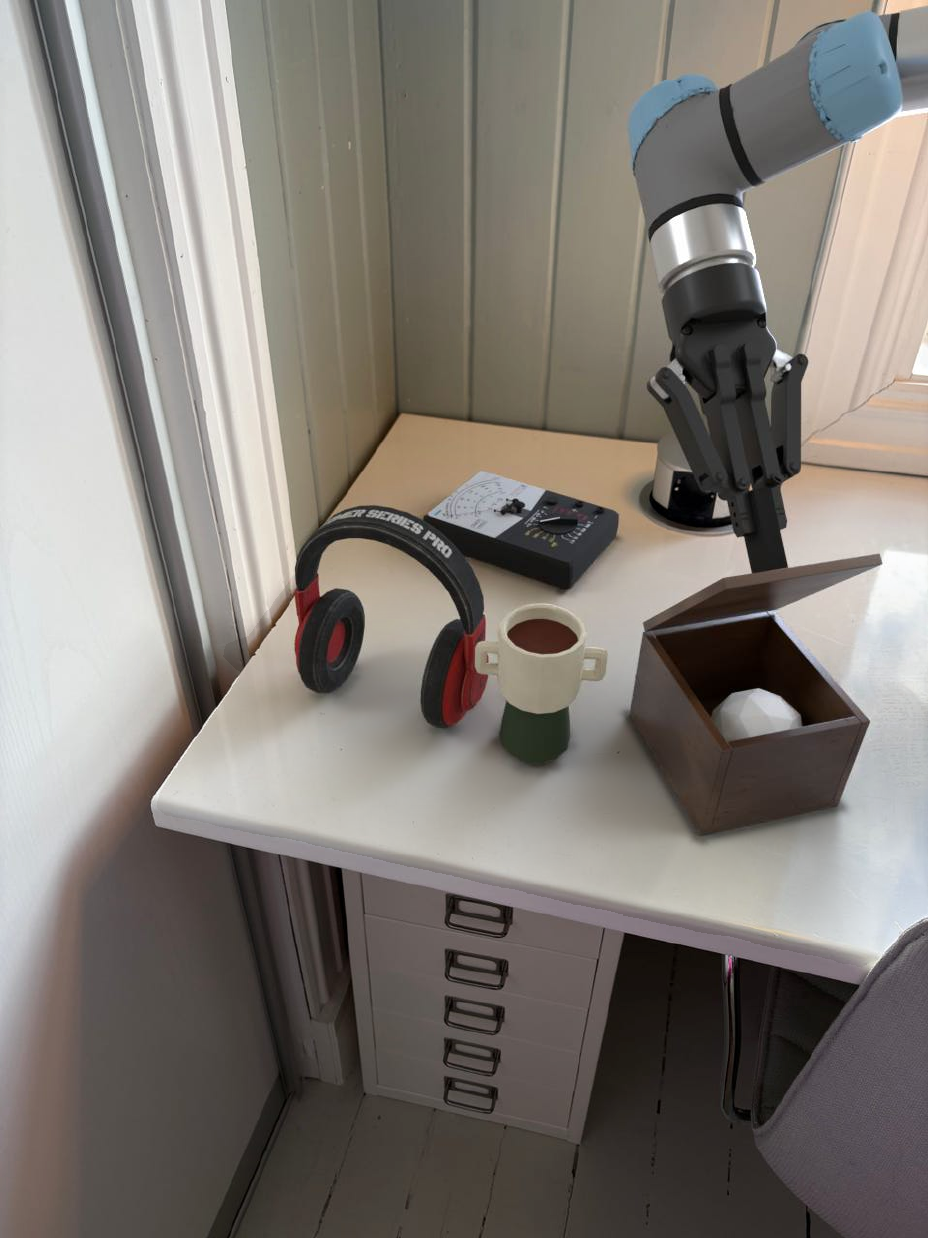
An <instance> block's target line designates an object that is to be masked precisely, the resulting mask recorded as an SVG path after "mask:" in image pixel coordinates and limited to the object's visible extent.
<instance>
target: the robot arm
mask: <svg viewBox="0 0 928 1238" xmlns="http://www.w3.org/2000/svg"><path fill="white" fill-rule="evenodd" d="M922 113H928V5H923V6H919V7H913V8H908V9H903V10H900V11H899V12H894V13H887V14H886V13H885V14H880V15H878V14H877V13H876V12H873V11H870V10H867V11H862V12H860V13H857V14H855V15H853V16H851V17H849V18H843V19H842V18H841V19H836V20H831V21H828V22H824V23H820V24H818V25H816V26H815V27H814V28H812V29H811V30H809V31H807V32H806V33H805V34H804V35H803V36H802V37H801V38H800V39H799V40H798V41H797V42H796V44H795V45H794V46H793V47H792V48H790V49H789V50H788V51H787V52H784V53H783V54H781V55H780V56H778V57H776V58H774V59H773V60H771V61H769V62H767V63H766V64H764V65H763V66H761V67H759V68H757V69H755V70H754V71H752V72H750V73H749V74H747V75H745V76H744V77H742V78H740V79H739V80H737V81H735V82H734V83H730V84H728V85H726V86H724V87H721V88H719V89H718V87H717V84H716V83H715V82H714V81H713V80H712V79H711V78H709V77H707V76H705V75H702V74H698V73H697V74H695V73H687V74H682V75H680V76H679V77H678V78H676V79H673V80H670V79H664V80H663V81H660V82H658V83H656V84H655V85H653V86H652V87H650V88H649V89H648V90H646V91H645V92H644V93H642V95H641V96H640V97H639V98H638V100H637V101H636V102H635V103H634V105H633V106H632V108H631V111H630V113H629V116H628V121H627V132H628V141H629V146H630V148H629V149H630V154H631V168H632V169H631V170H632V175H633V176H634V178H635V182H636V187H637V192H638V195H639V200H640V204H641V209H642V212H643V217H644V221H645V227H646V230H647V236H648V241H649V247H650V251H651V256H652V261H653V266H654V272H655V276H656V281H657V286H658V289H659V291H660V293H661V294H663V296H662V298H661V307H662V311H663V316H664V320H665V325H666V330H667V334H668V338H669V340H670V341H671V350H670V353H669V364H668V365H666V366H663V367H661V368H660V369H659V370H658V371H657V372H656V373H654V375H653V376H652V377H651V378H650V379H649V380H648V381H647V382H646V389H647V392H648V393H649V394H650V395H651V396H652V397H653V398H654V399H655V401H656V402H658V403H659V405H660V406H661V407H662V408H663V410H664V413H665V415H666V417H667V419H668V421H669V423H670V426H671V428H672V431H673V432H674V435H675V437H676V439H677V442H678V443H679V446H680V448H681V451H682V452H683V455H684V457H685V459H686V461H687V463H688V466H689V468H690V471H691V473H692V474H693V477H694V480H695V481H696V484H697V486H698V488H699V490H700V491H701V492H702V493H705V494H709V493H715V494H717V497H718V498H719V499H720V500H721V501H723V502H724V501H725V502H726V504H727V508H728V513H729V518H730V522H731V527H732V532H733V533H734V535H735V536H736V538H744V544H745V548H746V553H747V557H748V563H749V566H750V567H749V568H750V572H751V573H757V572H764V571H770V570H777V569H783V568H789V565H788V560H787V555H786V550H785V546H784V541H783V537H782V530H784V529H786V528H787V525H788V518H787V514H786V509H785V505H784V500H783V496H782V489H781V488H782V485H783V484H784V483H785V482H786V481H788V480H789V479H792V478H793V477H795V476H796V475H798V474H800V472H801V470H802V382H803V379H804V377H805V373H806V371H807V368H808V366H809V358H808V357H807V355H806V354H804V353H798V354H795V355H794V356H792V355H790V354H788V353H786V352H784V351H782V350H780V349H778V348H777V341H776V339H775V337H774V336H773V334H771V332H770V331H769V329H768V326H767V304H766V299H765V296H764V291H763V285H762V281H761V278H760V273H759V271H758V270H757V269H756V268H755V265H756V263H757V262H756V261H757V257H756V252H755V248H754V244H753V243H754V242H753V238H752V235H751V231H750V228H749V227H750V226H749V223H748V218H747V215H746V214H747V213H746V210H745V205H744V201H743V193H745V192H747V191H750V190H752V189H753V188H756V187H759V186H761V185H763V184H765V183H766V182H767V181H769V180H771V179H773V178H775V177H778V176H780V175H781V174H784V173H786V172H788V171H790V170H793V169H796V168H797V167H800V166H801V165H804V164H805V163H808V162H810V161H812V160H814V159H816V158H818V157H821V156H823V155H825V154H827V153H829V152H831V151H833V150H835V149H838V148H840V147H842V146H844V145H846V144H848V143H851V144H853V143H856V142H858V141H860V140H861V139H862V138H863V137H864V136H865V135H866V134H868V133H870V132H872V131H873V130H875V129H878V128H879V127H881V126H883V125H884V124H886V123H888V122H890V121H892V120H893V119H894V118H896V117H903V116H909V115H916V114H922ZM769 369H770V375H769V381H770V382H771V383H772V384H773V385H772V388H771V393H770V418H769V412H768V407H767V405H766V397H767V387H766V382H765V378H766V376H767V373H768V371H769ZM686 383H687V385H689V386H690V387H691V388H692V389H693V390H694V391H695V393H696V394H697V396H698V400H699V407H700V410H701V413H702V415H704V416H705V419H706V423H707V427H706V424H705V422H704V420H703V417H702V415H701V414H700V411H699V409H698V407H697V404H696V401H695V400H694V397H693V395H692V394H691V392H690V390H689V389H688V387H687V386H686ZM750 488H751V489H750Z"/></svg>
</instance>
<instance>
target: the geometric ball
mask: <svg viewBox="0 0 928 1238" xmlns="http://www.w3.org/2000/svg"><path fill="white" fill-rule="evenodd" d="M711 719H712V720H713V722H714V723H715V725H716V726H717V728H718V729H719V731H720V732H721V734H722V735H723V737H724V738H725V740H726V741H727V742H729V741H734V740H739V739H744V738H749V737H754V736H759V735H764V734H769V733H774V732H779V731H784V730H789V729H794V728H800V727H802V721H801V715H800V714H799V713H798V712H797V711H796V710H795V709H794V708H793V707H792V706H790V705H789V704H788V703H787V702H786V701H785V700H784V699H783V698H782V697H781V696H779V695H776V694H773V693H770V692H768V691H765V690H762V689H759V688H757V689H752V690H746V691H741V692H736V693H732V694H731V695H730V696H728V697H727V698H726V699H725V700H724V701H723V702H722V703H721V704H720V705H719V706H717V707H716V708H715V709H714V710H713V712H712V716H711Z"/></svg>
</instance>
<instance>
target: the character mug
mask: <svg viewBox="0 0 928 1238" xmlns="http://www.w3.org/2000/svg"><path fill="white" fill-rule="evenodd" d="M498 629H499V630H498V641H491V640H489V641H488V640H485V641H482V642H479V643H477V645H476V647H475V668H476V671H477V672H478V673H480V674H486V675H488V676H496V677H497V683H498V689H499V691H500V693H501V695H502V696H503V698H504V699H505V700H506V701H505V704H504V709H503V713H502V717H501V722H500V726H499V732H498V734H499V739H500V743H501V746H502V747H503V749H504V750H506V752H507V753H508V754H509V755H510V756H511V757H513V758H514V759H517V760H519V761H521V762H522V763H525V764H539V765H543V764H546V763H549V762H553V761H554V760H558V759H559V757H560V756H561V755H562V754H563V753H565V752H566V751H567V750H568V748H569V744H570V741H571V720H570V708H569V706H570V704H572V703H573V701H574V700H576V698H577V696H578V694H579V692H580V690H581V689H580V688H581V685H582V684H581V683H582V681H590V682H599V681H602V680H603V679H604V677H605V676H606V673H607V664H608V658H609V654H608V651H607V649H606V648H602V647H595V646H587V638H588V637H587V629H586V626H585V624H584V622H583V621H582V619H581V618H579V616H578V615H576V614H575V613H574V612H573V611H570V610H569V609H567V608H564V607H563V606H559V605H555V604H551V603H546V602H545V603H544V602H540V603H539V602H538V603H537V602H535V603H530V604H524V605H522V606H519V607H517V608H514V609H512V610H511V611H510V612H508V613H507V614H506V615H505V616H504V617H503V619H502V621H501V623H500V626H499V628H498ZM487 654H494V655H495V654H497V663H495V662H489V663H487ZM585 660H595V661H594V667H593V668H584V664H585V663H584V662H585Z"/></svg>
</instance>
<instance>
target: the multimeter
mask: <svg viewBox="0 0 928 1238" xmlns="http://www.w3.org/2000/svg"><path fill="white" fill-rule="evenodd" d="M422 519H423V520H424V521H426V522H427V523H429V524H430V525H432V526H433V527H435V528H436V529H437V530H439V531H440V532H441V533H442V534H443V535H445V536H446V537H447V538H448V539H449V540H450V541H451V542H452V543H453V544H454V545H455V546H456V547H457V549H458V550H459V551H460V552H461V553H462V555H463V556H465V557H469V558H471V559H475V560H478V561H480V562H483V563H486V564H489V565H492V566H495V567H497V568H499V569H500V568H501V569H503V570H506V571H509V572H511V573H515V574H518V575H521V576H523V577H526V578H529V579H531V580H535V581H538V582H540V583H543V584H546V585H549V586H553V587H555V588H557V589H561V590H569V589H571V588H572V587H573V586H574V585H575V584H576V583H577V581H578V580H580V578H581V577H582V576H583V575H584V573H586V572H587V570H588V569H589V568H590V567H591V565H593V563H594V562H595V561H596V560H597V559H598V558H599V556H601V554H602V553H603V552H604V551H605V550H606V549H607V547H609V545H610V544H611V543H612V542H613V541H614V540H615V538H616V537H617V534H618V529H619V525H620V523H619V521H620V513H618V512H617V511H615V510H614V509H611V508H608V507H605V506H602V505H598V504H594V503H591V502H587V501H584V500H581V499H578V498H574V497H571V496H568V495H565V494H561V493H558V492H554V491H552V490H548V489H545V488H541V487H538V486H535V485H531V484H528V483H526V482H522V481H518V480H515V479H511V478H509V477H506V476H501V475H499V474H495V473H491V472H488V471H485V470H480V471H478V472H476V473H475V474H474V475H473V476H471V477H470V478H469V479H468V480H467V481H465V482H463V483H462V485H460V486H459V487H458V488H457V489H456V490H454V491H453V492H451V494H450V495H448V496H447V497H445V498H444V499H443V500H442V501H440V502H439V503H438V504H437V505H435V506H434V507H433V508H432V509H431V510H429V511H428V512H427V513H426V514H425V515H423V517H422Z"/></svg>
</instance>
